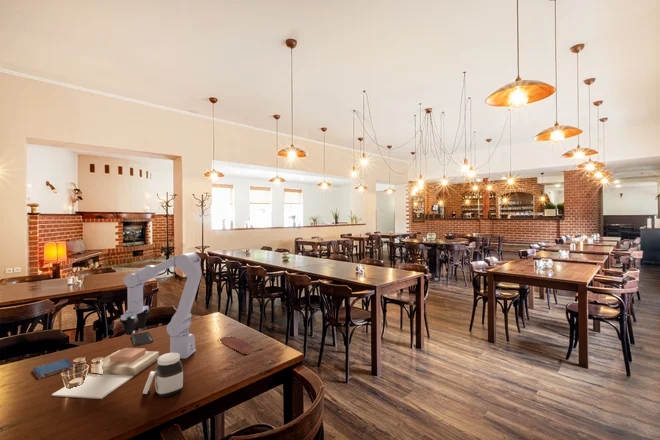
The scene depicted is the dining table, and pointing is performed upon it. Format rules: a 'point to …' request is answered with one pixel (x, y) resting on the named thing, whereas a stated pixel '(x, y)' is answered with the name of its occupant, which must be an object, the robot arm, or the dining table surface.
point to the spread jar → (166, 375)
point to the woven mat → (51, 368)
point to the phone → (141, 338)
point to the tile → (128, 354)
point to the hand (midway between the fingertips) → (135, 331)
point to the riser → (129, 364)
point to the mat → (94, 386)
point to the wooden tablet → (237, 344)
